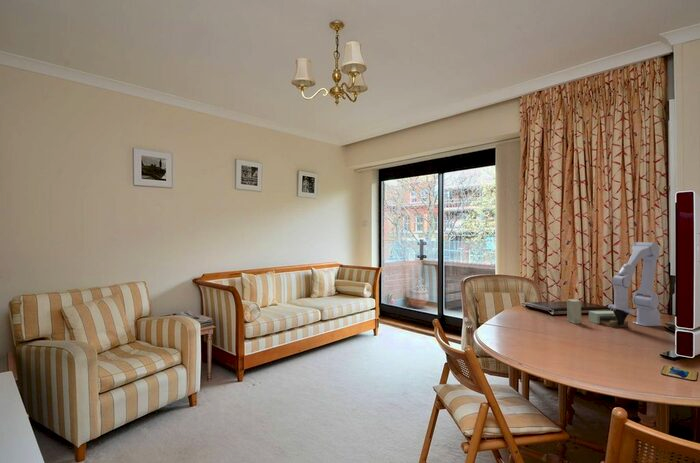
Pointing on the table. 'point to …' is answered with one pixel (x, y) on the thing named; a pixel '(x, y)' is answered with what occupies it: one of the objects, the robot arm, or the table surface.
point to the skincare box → (574, 311)
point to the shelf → (601, 316)
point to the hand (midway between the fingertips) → (621, 324)
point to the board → (612, 323)
